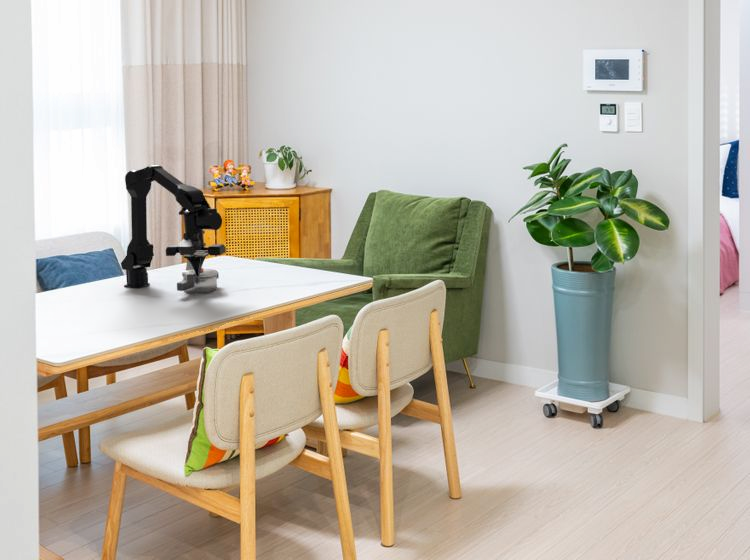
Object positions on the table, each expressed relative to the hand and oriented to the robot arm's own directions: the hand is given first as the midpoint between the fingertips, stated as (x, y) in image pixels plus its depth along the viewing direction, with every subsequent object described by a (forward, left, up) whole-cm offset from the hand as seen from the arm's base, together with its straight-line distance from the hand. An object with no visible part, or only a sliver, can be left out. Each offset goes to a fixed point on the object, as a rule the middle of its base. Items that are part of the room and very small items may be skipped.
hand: (197, 276), depth 309 cm
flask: (-12, +15, -7) cm, 21 cm away
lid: (-3, +5, -1) cm, 6 cm away
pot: (-4, +6, -7) cm, 10 cm away
